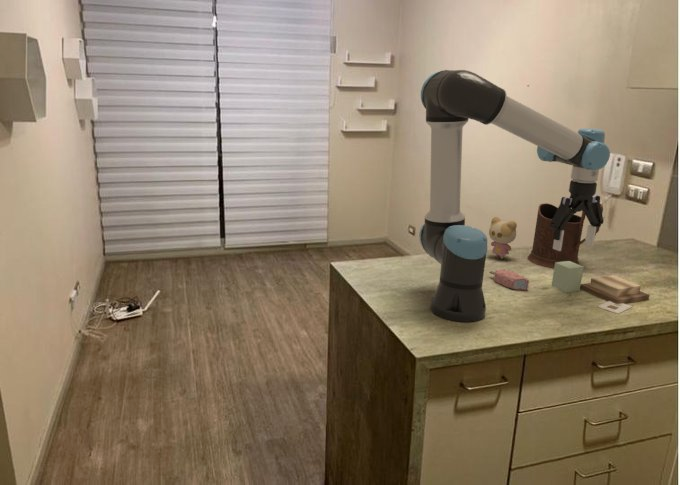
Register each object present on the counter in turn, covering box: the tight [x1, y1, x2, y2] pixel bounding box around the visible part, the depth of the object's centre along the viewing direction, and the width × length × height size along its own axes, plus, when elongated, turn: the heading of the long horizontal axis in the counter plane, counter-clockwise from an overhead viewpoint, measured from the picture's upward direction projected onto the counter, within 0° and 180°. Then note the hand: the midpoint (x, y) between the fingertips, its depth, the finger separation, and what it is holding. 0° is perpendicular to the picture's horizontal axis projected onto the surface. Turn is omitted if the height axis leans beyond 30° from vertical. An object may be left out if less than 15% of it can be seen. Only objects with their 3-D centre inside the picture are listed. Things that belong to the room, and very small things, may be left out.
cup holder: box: [526, 202, 604, 270], centre depth 195 cm, size 18×24×25 cm
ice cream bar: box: [489, 268, 530, 291], centre depth 174 cm, size 6×4×15 cm
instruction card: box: [597, 301, 633, 315], centre depth 160 cm, size 9×6×1 cm, turn 129°
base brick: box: [580, 274, 650, 304], centre depth 170 cm, size 14×14×4 cm
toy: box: [488, 216, 518, 260], centre depth 199 cm, size 10×8×15 cm
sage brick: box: [551, 261, 585, 293], centre depth 173 cm, size 6×6×8 cm
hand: (573, 247), depth 170 cm, fingers open, 13 cm apart
